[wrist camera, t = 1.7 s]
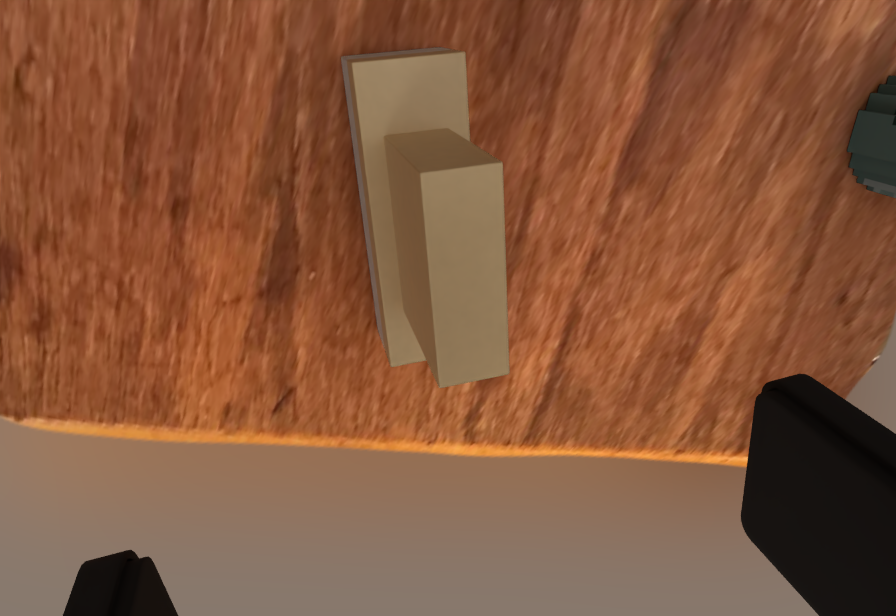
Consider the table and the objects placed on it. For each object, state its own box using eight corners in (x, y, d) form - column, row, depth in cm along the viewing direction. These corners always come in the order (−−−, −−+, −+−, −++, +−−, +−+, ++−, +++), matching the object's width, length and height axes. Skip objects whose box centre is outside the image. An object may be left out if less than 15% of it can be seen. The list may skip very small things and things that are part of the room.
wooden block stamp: (377, 330, 29) (421, 456, 21) (340, 56, 24) (379, 78, 16) (459, 315, 30) (533, 431, 22) (441, 46, 25) (529, 63, 17)
